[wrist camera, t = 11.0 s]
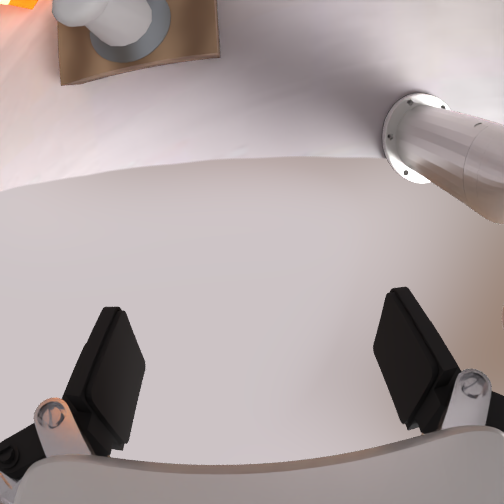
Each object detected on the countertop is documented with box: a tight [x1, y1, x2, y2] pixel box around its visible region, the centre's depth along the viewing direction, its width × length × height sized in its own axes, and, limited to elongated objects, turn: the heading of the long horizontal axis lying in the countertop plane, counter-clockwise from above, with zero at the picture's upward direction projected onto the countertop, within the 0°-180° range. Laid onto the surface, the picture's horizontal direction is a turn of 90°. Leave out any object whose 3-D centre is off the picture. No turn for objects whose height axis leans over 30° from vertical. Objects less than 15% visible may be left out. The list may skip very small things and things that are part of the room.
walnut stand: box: [58, 0, 220, 86], centre depth 26 cm, size 18×10×6 cm, turn 93°
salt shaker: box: [52, 0, 152, 46], centre depth 18 cm, size 6×6×13 cm
